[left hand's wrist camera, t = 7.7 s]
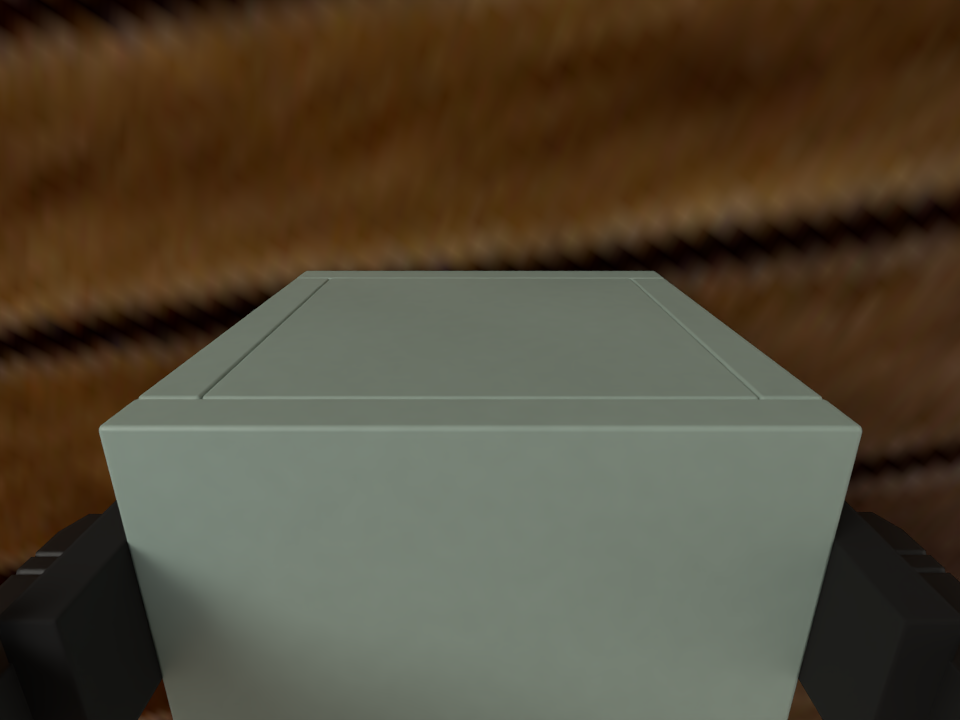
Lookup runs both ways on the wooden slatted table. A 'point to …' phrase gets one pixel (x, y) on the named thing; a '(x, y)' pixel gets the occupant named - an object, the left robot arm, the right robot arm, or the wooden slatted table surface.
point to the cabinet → (480, 505)
